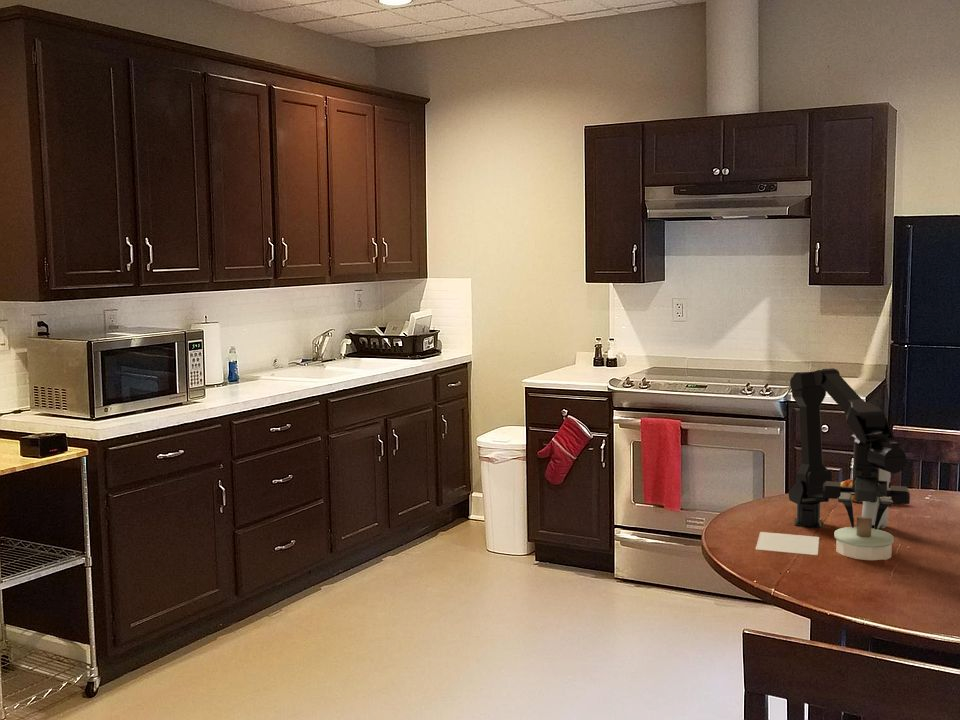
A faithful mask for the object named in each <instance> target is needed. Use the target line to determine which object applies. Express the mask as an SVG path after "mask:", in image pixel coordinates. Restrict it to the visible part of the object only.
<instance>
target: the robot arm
mask: <svg viewBox="0 0 960 720" xmlns="http://www.w3.org/2000/svg"><path fill="white" fill-rule="evenodd" d="M789 381H790V382H789V385H790V388H791V395H792V398H793V400H794V401H795V402H796V404H797V406H798V407H799V409H798V410H799V421H800V422H799V423H800V424H799V425H800V443H801V444H800V445H801V446H800V448H801V464H800V466H799V468H798V470H797V471H796V475H795V483H794V484H793V486H791V488H790V489H789V491H788V492H787V494H788V500H789V501H790V502H792V503H795V504H796V517H795V518H794V525H793V526H795V527H801V528H802V527H803V528H813V529H814V528H815V529H821V528H822V524H823V523H822V521H823V520H822V519H821V503H829V501H830V499H832V500H833V499H835V500H837V501H838V502H839V503H841V504H843V506H844V508H845V510H846V512H847V515H848V519H849V522H850V525H851V526H850V527H852V528H854V527H855V518H854V517H855V516H854V507H853V501H852V497H851V495H855V500H856V501H858V502H857V503H861V502H862V501H866V502H871V503H875V502H877V499H878V504H877V511H876V517H875V525H874V529H877V527H878V524H879V522H880V520H881V517H882V515H883V513H884V511H885V510H886V508H887V507H888V508H889V507H893V506H894V504H898V505H902V504H903V505H909V504H911V503H910V500H911V496H910V495H911V493H910V489H909V487H907V486H905V485H904V486H903V485H902V486H901V485H890V487H889V489H890V490H887V481H879V471H880V469H882V470H885V471H888V472H890V473H891V474H897V473H899V472H901V471H903V470H904V468H905V467H906V465H907V461H908V460H907V459H908V458H907V455H906V453H905V451H904V450H903V449H901V448H900V443H899V442H897V441H895V436H894V431H893V430H892V428H891V426H890V423H889V421H888V418H887V416H886V414H885V412H884V411H883V410H882V409H881V408H879V407H878V406H877V405H875V404H874V403H870V402H867V401H865V400H864V399H862V397H861V396H860V395H859V394H858V393H857V392H856V391H855V390H854V389H853V388H852V387H851V385H849V384H848V382H846V380H845V379H844V378H843V377H842V376H841V374H840V371H839V369H835V367H834V368H833V367H832V368H831V367H830V368H820V369H818V370H814V371H799V372H795V373H794V374H793V376H792V377H790V380H789ZM827 394H828V396H830V398H832V400H833V401H834V402H835V403H836V404H837V405H838V407H839V408H840V409H841V410H842V411H843V412H844V414H845V415H846V416H845V422H846V424H847V425H848V427H849V428H850V429H849V430H851V432H852V433H853V434H852V435H850V436H849V437H848V440H849V441H851V442H853V463H852V480H853V485H852V487H844V486H841V482H842V481H832V480H833V479H832V477H833V475H832V474H833V472H832V471H831V470H830V469H829V470H828V469H827V467H826V466H825V464H824V462H823V445H822V443H823V442H822V426H821V405H822V404H823V401H824V400H825V398H826V396H827ZM878 497H879V498H878ZM893 502H894V503H893Z"/></svg>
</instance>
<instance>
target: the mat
mask: <svg viewBox="0 0 960 720" xmlns="http://www.w3.org/2000/svg"><path fill="white" fill-rule="evenodd" d="M819 545H820V536H811V535H803V534H802V535H799V534H790V533H777V532H767V531H760V532H759V535H758V538H757V542H756V545H755V550H757V551H767V552H779V553H789V554H799V555H808V556H809V555H812V556H819Z"/></svg>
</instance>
